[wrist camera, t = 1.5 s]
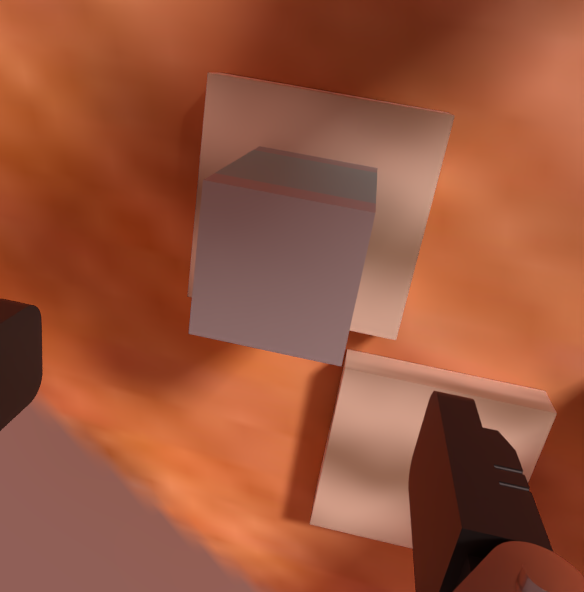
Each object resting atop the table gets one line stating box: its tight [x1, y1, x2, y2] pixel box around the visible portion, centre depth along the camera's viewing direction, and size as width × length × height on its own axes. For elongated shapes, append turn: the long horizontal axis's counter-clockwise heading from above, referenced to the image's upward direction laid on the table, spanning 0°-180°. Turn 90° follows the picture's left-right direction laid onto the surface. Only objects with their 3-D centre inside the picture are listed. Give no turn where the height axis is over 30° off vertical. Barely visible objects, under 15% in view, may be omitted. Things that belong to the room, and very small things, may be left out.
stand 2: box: [310, 349, 557, 549], centre depth 29 cm, size 10×10×2 cm
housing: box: [189, 146, 377, 366], centre depth 20 cm, size 5×5×8 cm
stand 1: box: [187, 73, 454, 340], centre depth 25 cm, size 10×10×2 cm
